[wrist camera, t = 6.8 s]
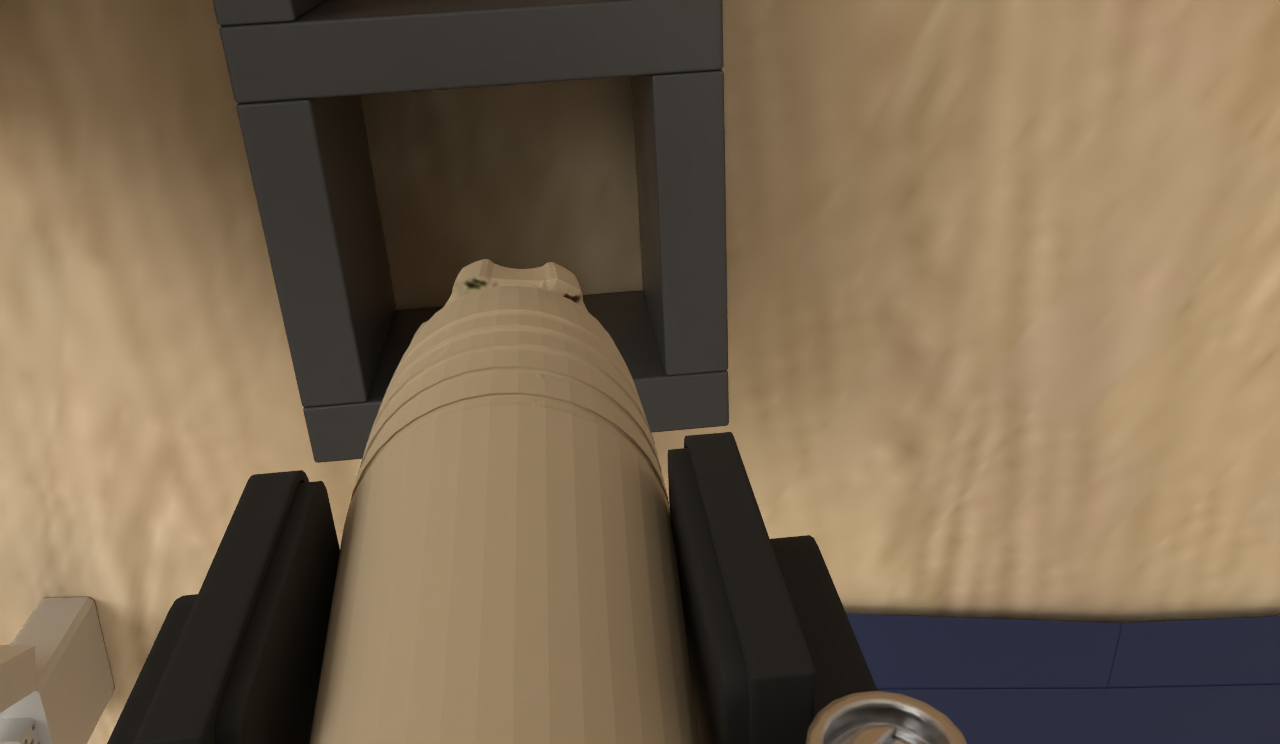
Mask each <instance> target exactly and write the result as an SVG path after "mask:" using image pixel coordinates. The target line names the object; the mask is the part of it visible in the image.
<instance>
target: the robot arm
mask: <svg viewBox="0 0 1280 744" xmlns="http://www.w3.org/2000/svg"><path fill="white" fill-rule="evenodd" d="M668 478H669V504H670V520H671V526H672V532H673V538H674V544H675V550H676V558H677V565H678V573H679V581H680V588H681V596H682V604H683V613H684V621H685V630H686V638H687V647H688V655H689V664H690V672H691V681H692V689H693V698H694V706H695V715H696V723H697V732H698V741H699V744H967V742H966V740H965V738H964V736H963V734H962V732H961V731H960V730H959V729H958V728H957V727H956V726H955V725H954V724H953V723H952V721H951V720H950V719H949V718H948V717H947V716H946V715H944V714H943V713H941V712H940V711H938V710H936V709H935V708H933V707H932V706H930V705H929V704H927V703H925V702H923V701H920V700H917V699H914V698H912V697H909V696H906V695H903V694H898V693H890V692H883V691H878V690H877V687H876V685H875V683H874V680H873V678H872V675H871V673H870V670H869V668H868V666H867V663H866V661H865V658H864V656H863V654H862V651H861V649H860V646H859V644H858V641H857V639H856V637H855V634H854V632H853V629H852V627H851V625H850V622H849V620H848V617H847V615H846V612H845V610H844V608H843V605H842V603H841V600H840V598H839V596H838V593H837V591H836V588H835V586H834V584H833V581H832V579H831V576H830V574H829V571H828V569H827V567H826V564H825V562H824V559H823V557H822V555H821V552H820V550H819V547H818V545H817V543H816V541H815V540H814V538H813V537H811V536H810V535H807V536H797V537H786V538H776V539H769V536H768V533H767V530H766V528H765V525H764V522H763V519H762V516H761V513H760V510H759V507H758V505H757V502H756V499H755V496H754V493H753V490H752V487H751V485H750V482H749V479H748V476H747V473H746V470H745V467H744V464H743V462H742V459H741V456H740V453H739V450H738V447H737V444H736V441H735V439H734V436H733V434H732V433H731V432H726V433H714V434H703V435H692V436H685V439H684V448H683V449H672V450H668ZM339 555H340V549H339V544H338V539H337V535H336V530H335V526H334V521H333V516H332V512H331V507H330V503H329V498H328V494H327V490H326V487H325V485H324V483H323V482H322V481H318V482H309V480H308V477H307V475H306V473H305V472H303V471H302V470H301V471H290V472H279V473H267V474H256V475H252V476H251V477H250V478H249V480H248V482H247V484H246V486H245V489H244V491H243V493H242V495H241V498H240V500H239V502H238V505H237V507H236V509H235V511H234V514H233V516H232V518H231V521H230V523H229V525H228V527H227V530H226V532H225V534H224V537H223V539H222V541H221V543H220V546H219V548H218V550H217V553H216V555H215V557H214V559H213V562H212V564H211V566H210V569H209V571H208V573H207V575H206V578H205V580H204V582H203V585H202V587H201V589H200V591H199V594H196V595H186V596H182V597H180V598H178V599H176V601H175V602H174V604H173V605H172V607H171V608H170V610H169V612H168V614H167V616H166V619H165V621H164V623H163V625H162V627H161V629H160V631H159V634H158V636H157V638H156V640H155V642H154V644H153V647H152V649H151V651H150V653H149V655H148V657H147V659H146V662H145V664H144V666H143V668H142V670H141V672H140V674H139V677H138V679H137V681H136V683H135V685H134V687H133V689H132V692H131V694H130V696H129V698H128V700H127V702H126V705H125V707H124V709H123V711H122V713H121V715H120V717H119V720H118V722H117V724H116V726H115V728H114V730H113V732H112V735H111V737H110V739H109V741H108V743H107V744H310V737H311V731H312V725H313V718H314V712H315V706H316V700H317V693H318V687H319V681H320V674H321V668H322V662H323V656H324V649H325V643H326V637H327V630H328V624H329V618H330V612H331V605H332V599H333V593H334V586H335V580H336V574H337V567H338V561H339Z"/></svg>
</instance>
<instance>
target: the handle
mask: <svg viewBox="0 0 1280 744" xmlns="http://www.w3.org/2000/svg"><path fill="white" fill-rule="evenodd" d="M310 744H699V741H698V732H697V723H696V715H695V706H694V698H693V689H692V681H691V672H690V664H689V655H688V647H687V638H686V630H685V621H684V613H683V604H682V596H681V588H680V581H679V573H678V565H677V558H676V550H675V544H674V538H673V532H672V526H671V520H670V508H669V503H668V497H667V493H666V488H665V484H664V480H663V477H662V473H661V467H660V463H659V459H658V455H657V451H656V448H655V443H654V440H653V437H652V434H651V431H650V428H649V425H648V422H647V419H646V416H645V413H644V410H643V407H642V404H641V401H640V398H639V395H638V392H637V389H636V386H635V384H634V381H633V379H632V376H631V374H630V372H629V370H628V367H627V365H626V363H625V361H624V359H623V358H622V356H621V354H620V352H619V350H618V349H617V347H616V345H615V343H614V341H613V339H612V338H611V336H610V335H609V333H608V332H607V331H606V330H605V329H604V328H603V326H602V325H601V324H600V322H599V321H598V320H597V319H596V318H595V317H593V316H592V315H591V314H590V313H589V312H588V311H587V309H586V307H585V304H584V302H583V294H582V291H581V288H580V285H579V283H578V280H577V279H576V277H575V276H574V274H573V273H572V272H570V271H569V270H567V269H566V268H564V267H562V266H560V265H558V264H555V263H553V262H550V263H546V264H545V265H544V266H541V267H537V268H532V269H514V268H507V267H503V266H500V265H497V264H494V263H493V262H492V261H490V260H489V259H482V260H479V261H476V262H473V263H471V264H469V265H467V266H466V267H464V268H462V270H461V271H460V273H459V274H458V276H457V278H456V280H455V283H454V286H453V289H452V294H451V296H450V298H449V300H448V301H447V303H446V304H445V306H444V308H442V309H441V310H439V311H438V312H436V313H435V314H434V315H433V316H432V317H431V319H430V320H429V321H426V322H424V323H423V324H422V325H421V326H420V327H419V329H418V330H417V332H416V333H415V335H414V337H413V339H412V341H411V343H410V346H409V347H408V349H407V350H406V352H405V353H404V355H403V357H402V359H401V361H400V363H399V365H398V367H397V369H396V371H395V373H394V375H393V377H392V380H391V382H390V384H389V386H388V388H387V391H386V394H385V396H384V398H383V401H382V403H381V406H380V409H379V411H378V415H377V417H376V419H375V422H374V424H373V427H372V429H371V432H370V435H369V439H368V442H367V445H366V448H365V452H364V455H363V459H362V462H361V466H360V470H359V473H358V476H357V480H356V483H355V487H354V491H353V494H352V499H351V503H350V505H349V509H348V513H347V517H346V521H345V525H344V530H343V536H342V542H341V549H340V555H339V561H338V567H337V574H336V580H335V586H334V593H333V599H332V605H331V612H330V618H329V624H328V630H327V637H326V643H325V649H324V656H323V662H322V668H321V674H320V681H319V687H318V693H317V700H316V706H315V712H314V718H313V725H312V731H311V737H310Z"/></svg>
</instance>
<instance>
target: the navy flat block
mask: <svg viewBox="0 0 1280 744" xmlns="http://www.w3.org/2000/svg"><path fill="white" fill-rule="evenodd" d="M846 615H847V617H848V620H849V622H850V625H851V627H852V629H853V632H854V634H855V637H856V639H857V641H858V644H859V646H860V649H861V651H862V654H863V656H864V658H865V661H866V663H867V666H868V668H869V670H870V673H871V675H872V678H873V680H874V683H875V685H876V687H877V690H878V691H883V692H890V693H898V694H903V695H906V696H909V697H912V698H914V699H917V700H920V701H923V702H925V703H927V704H929V705H930V706H932V707H933V708H935V709H936V710H938V711H940V712H941V713H943V714H944V715H946V716H947V717H948V718H949V719H950V720H951V721H952V723H953V724H954V725H955V726H956V727H957V728H958V729H959V730H960V731H961V732H962V734H963V736H964V738H965V740H966V742H967V744H1280V616H1268V617H1245V618H1223V619H1201V620H1179V621H1157V622H1135V623H1106V622H1077V621H1047V620H1018V619H988V618H959V617H929V616H900V615H871V614H846Z"/></svg>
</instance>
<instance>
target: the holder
mask: <svg viewBox="0 0 1280 744" xmlns="http://www.w3.org/2000/svg"><path fill="white" fill-rule="evenodd" d="M213 5H214V9H215V14H216V18H217V23H218V24H219V25H220V26H222V27H220V30H219V31H220V35H221V40H222V44H223V49H224V53H225V58H226V62H227V67H228V72H229V76H230V81H231V85H232V90H233V94H234V99H235V101H236V102H237V103H239V104H237V107H236V108H237V113H238V117H239V122H240V126H241V131H242V135H243V140H244V144H245V149H246V153H247V158H248V162H249V167H250V172H251V176H252V181H253V185H254V190H255V194H256V199H257V203H258V208H259V212H260V217H261V221H262V226H263V230H264V235H265V239H266V244H267V248H268V253H269V257H270V262H271V267H272V271H273V276H274V280H275V285H276V289H277V294H278V298H279V303H280V307H281V312H282V316H283V321H284V325H285V330H286V334H287V339H288V343H289V348H290V352H291V357H292V362H293V366H294V371H295V375H296V380H297V384H298V389H299V393H300V398H301V402H302V405H303V407H304V409H303V411H304V415H305V420H306V424H307V429H308V433H309V438H310V442H311V447H312V452H313V456H314V460H315V462H318V463H319V462H330V461H341V460H352V459H363V455H364V452H365V448H366V445H367V442H368V439H369V435H370V432H371V429H372V427H373V424H374V422H375V419H376V417H377V415H378V411H379V409H380V406H381V403H382V401H383V398H384V396H385V394H386V391H387V388H388V386H389V384H390V382H391V380H392V377H393V375H394V373H395V371H396V369H397V367H398V365H399V363H400V361H401V359H402V357H403V355H404V353H405V352H406V350H407V349H408V347H409V346H410V343H411V341H412V339H413V337H414V335H415V333H416V332H417V330H418V329H419V327H420V326H421V325H422V324H423V323H424V322H426V321H429V320H430V319H431V317H432V316H433V315H434V314H435V313H436V312H438V311H439V310H441V309H442V308H444V307H436V308H424V309H412V310H400V311H395V309H396V307H395V302H394V296H393V290H392V284H391V278H390V272H389V266H388V260H387V254H386V248H385V242H384V236H383V230H382V224H381V218H380V212H379V206H378V200H377V194H376V188H375V183H374V177H373V171H372V165H371V159H370V153H369V147H368V141H367V135H366V129H365V123H364V117H363V111H362V105H361V99H360V95H369V94H384V93H398V92H412V91H427V90H441V89H456V88H470V87H484V86H499V85H513V84H527V83H542V82H556V81H570V80H585V79H599V78H614V77H628V76H632V90H633V109H634V128H635V146H636V165H637V184H638V203H639V221H640V240H641V259H642V277H643V290H644V291H631V292H619V293H607V294H595V295H583V302H584V304H585V307H586V309H587V311H588V312H589V313H590V314H591V315H592V316H593V317H595V318H596V319H597V320H598V321H599V322H600V324H601V325H602V326H603V328H604V329H605V330H606V331H607V332H608V333H609V335H610V336H611V338H612V339H613V341H614V343H615V345H616V347H617V349H618V350H619V352H620V354H621V356H622V358H623V359H624V361H625V363H626V365H627V367H628V370H629V372H630V374H631V376H632V379H633V381H634V384H635V386H636V389H637V392H638V395H639V398H640V401H641V404H642V407H643V410H644V413H645V416H646V419H647V422H648V425H649V428H650V431H651V432H662V431H673V430H684V429H695V428H706V427H717V426H726V425H728V423H729V399H728V371H727V369H728V324H727V258H726V191H725V125H724V73H723V71H722V70H721V69H722V68H723V2H722V0H213Z"/></svg>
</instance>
